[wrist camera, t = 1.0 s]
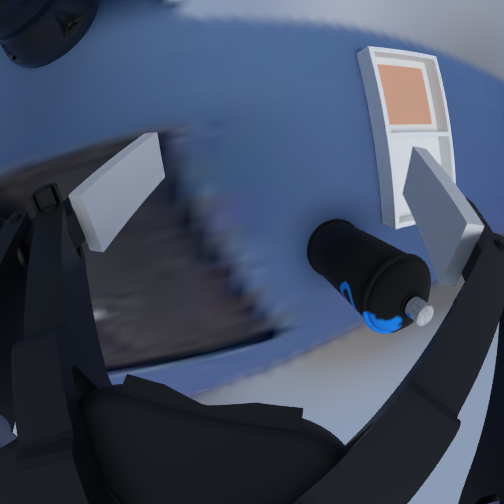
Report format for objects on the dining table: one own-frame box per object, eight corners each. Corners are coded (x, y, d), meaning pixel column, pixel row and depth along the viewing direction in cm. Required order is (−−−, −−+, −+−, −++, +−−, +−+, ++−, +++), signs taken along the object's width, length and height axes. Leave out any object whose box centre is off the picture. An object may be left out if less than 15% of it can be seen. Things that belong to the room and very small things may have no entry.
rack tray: (355, 53, 32) (368, 46, 29) (423, 60, 33) (437, 56, 30) (382, 223, 40) (395, 229, 37) (443, 209, 41) (457, 213, 38)
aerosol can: (325, 208, 38) (424, 253, 19) (369, 235, 40) (469, 289, 22) (295, 262, 40) (367, 345, 21) (341, 284, 42) (422, 364, 23)
